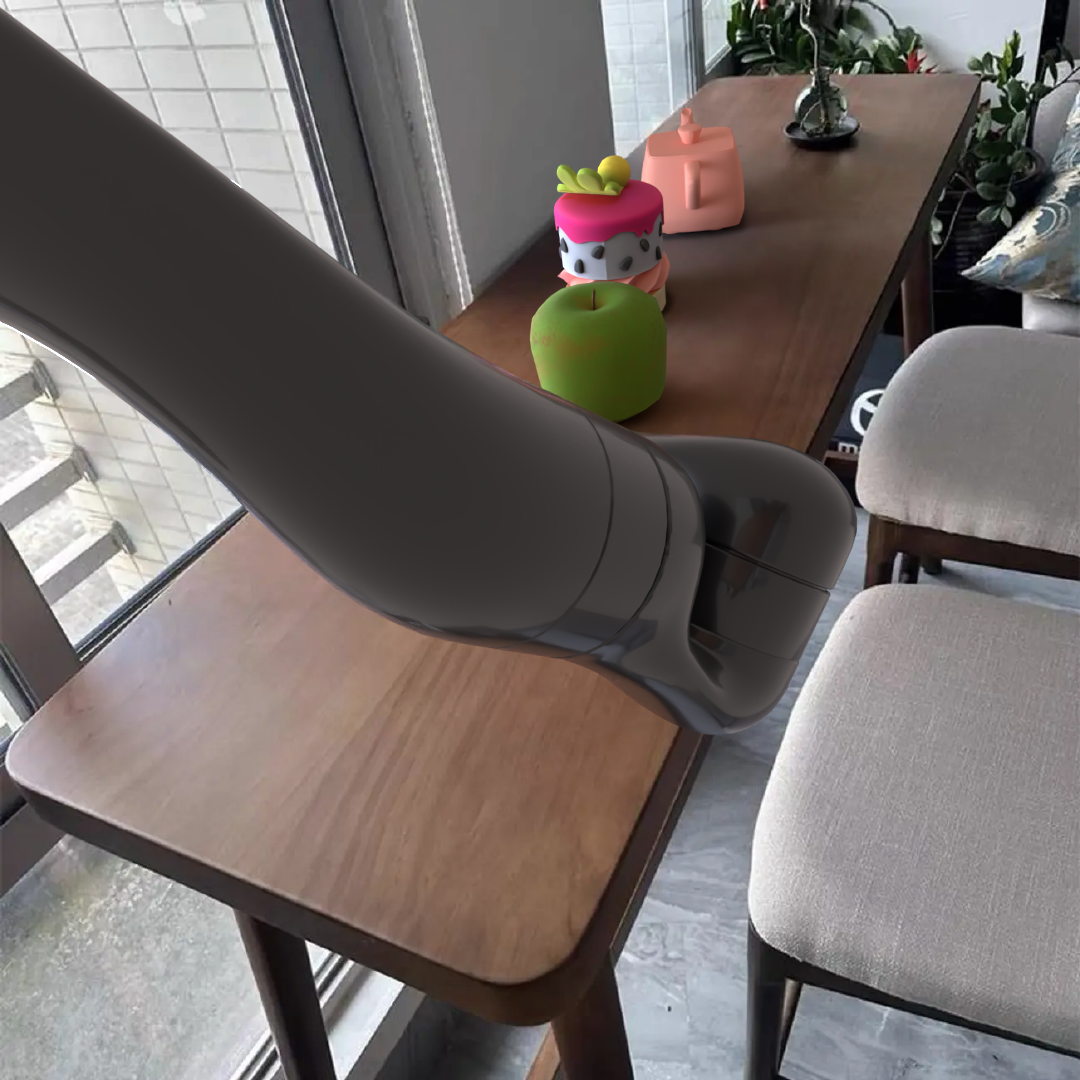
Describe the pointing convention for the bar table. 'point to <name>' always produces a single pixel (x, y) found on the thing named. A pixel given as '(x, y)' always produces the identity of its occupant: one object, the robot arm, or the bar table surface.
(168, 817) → the bar table surface
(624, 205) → the cake
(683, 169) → the teapot
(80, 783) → the bar table surface
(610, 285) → the apple
